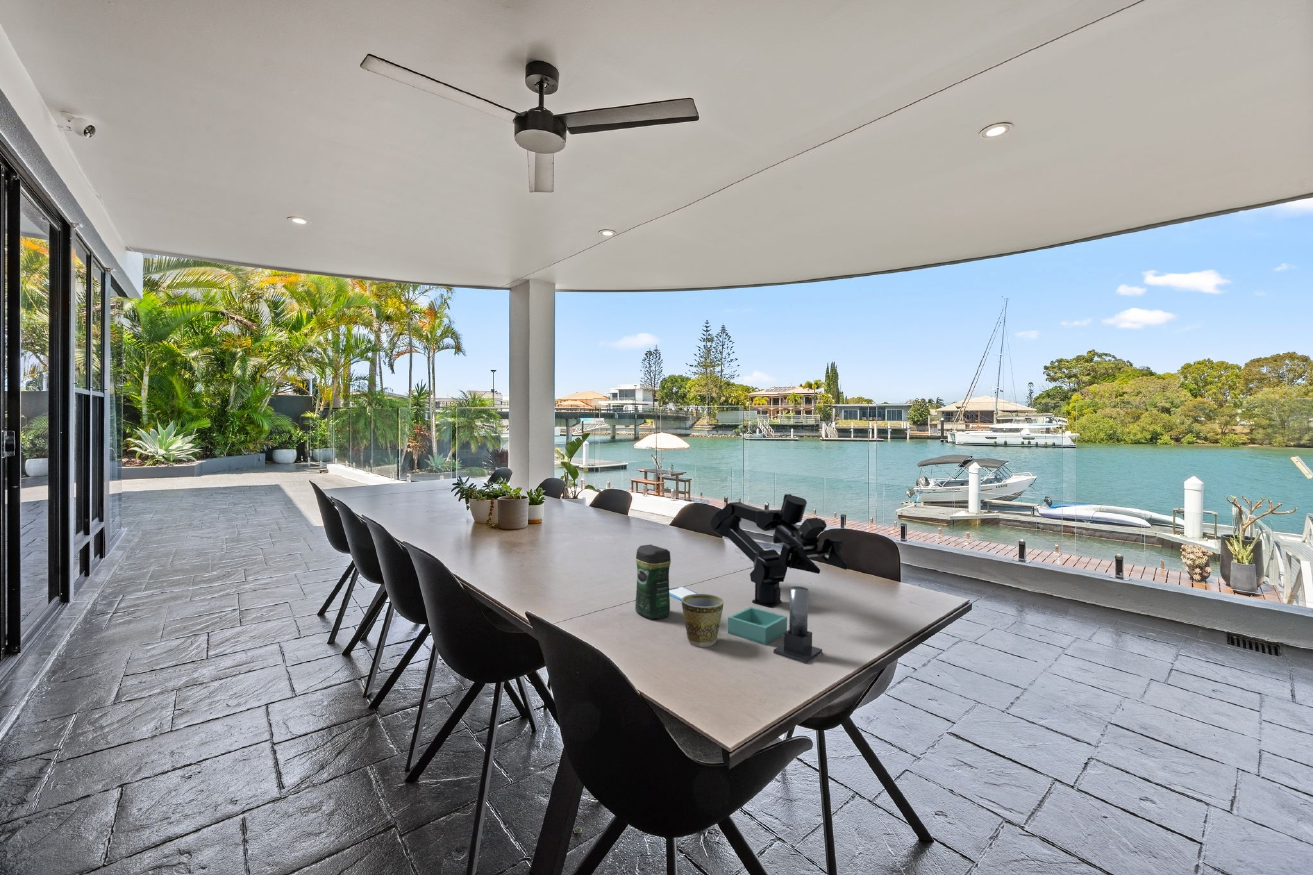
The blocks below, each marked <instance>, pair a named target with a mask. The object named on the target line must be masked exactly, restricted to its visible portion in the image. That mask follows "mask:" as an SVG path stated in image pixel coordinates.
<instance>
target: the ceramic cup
mask: <svg viewBox="0 0 1313 875" xmlns="http://www.w3.org/2000/svg"><path fill="white" fill-rule="evenodd" d="M681 608H682V614H683V618H684V623H685V624H684V625H685V630H686V636H687V637H686V638H687V640H688V642H689V644H690V645H691V646H694V647H698V648H709V647H712V646H713V645H715V644H716V643H717V639H718V635H719V629H720V625H721V624H720V623H721V620H722V615H723V610H724V600H723V598H721V597H719V596H717V595H714V594H710V593H709V594H708V593H698V594H691V595H687V596H685V597H683V598H682V601H681Z"/></svg>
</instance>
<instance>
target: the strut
mask: <svg viewBox="0 0 1313 875" xmlns="http://www.w3.org/2000/svg"><path fill="white" fill-rule="evenodd" d="M808 618H809V588H807V587H804V586H801V585H800V586H798V585H797V586H796V585H795V586H790V589H789V622H788V623H789V625H788V626H789V629H787V631H786V632H784V634H783V644H784V650H787V651H790V652H793V653H796V654H799V655H804V654H806V653H807V652H809V651H810V650H812V646H813V632H812V631H809V630H808V623H809V622H808V620H809V619H808ZM801 636H803V637H801Z"/></svg>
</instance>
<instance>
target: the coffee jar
mask: <svg viewBox="0 0 1313 875" xmlns="http://www.w3.org/2000/svg"><path fill="white" fill-rule="evenodd" d="M635 554H636V555H635V561H636V573H637V574H636V590H635V607H634V608H635V612H636V613H637V614H639V615H641V616H642V617H645V618H647V619H662V618H663V619H664V618H665V617H667V616H669V615H670V613H671V602H670V601H671V600H670V599H671V598H670V597H671V596H669V589H670V566H671V562H672V561H671V560H672V559H671V552H670V550H668V549H667V548H663V547H659V546H657V545H653V544H644V545H640V546H638V548H637V549H636V553H635Z"/></svg>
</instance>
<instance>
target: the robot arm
mask: <svg viewBox="0 0 1313 875" xmlns="http://www.w3.org/2000/svg"><path fill="white" fill-rule="evenodd" d="M782 501H783V502H782V504H781V509H763V508H758V507H755V506H752V505H748V504H745V503H743V502H740V501H734V502H733V501H731V502H728V503H727V504H726V505H725V506H724V507H723V508H721V509H720V510H718V511H717V512H716V513H715V514H714V515H713V516H712V518H711V520H710V524H709V525H710V528H711V529H712V531H713V532H714V533H716V534H717V535H718V536H721V537H724V538H727V539H729V540H730V541H731V542H732V543H733V544H734V545H735V546H736V547H737V548H738V549H740V551H741V553H743V554H744V555H745V556H746V557H747V558H748V559H750V561H751V562H753V570H752V571H751V572H750V573H749V578H750V581H751V582H752V583H754V598H753V599H752V600H751V603H754V604H756V605H762V606H764V607H769V608H773V607H775V606H777V605H778V604H779V605H780V604H781V603H783V602H782V600H781V595H782V594H781V592H782V589H781V588H780V583H784V581H785V578H786V575H787V572H788V568H789V569H793V570H799V571H800V570H801V571H803V572H804V571H805V572H809V573H813V574H817V575H819V574H820V573H821V569H820V568H819V567H818V565H817V564H816V563H814V562H813V561H812V559H813V558H815V557H821V559H822V560H823V561H825V562H826V563H827V564H829V565H831V566H834V567H837V568H839V569H843V570H844V571H846V570H848V568H849V566H848V564H847V562H846V561H845V559H844V557H843V555H842V553H841V550H842V547H843V543H844V542H843V540H841V538H839V537H838V536H837V537H829V538H825V539H824V540H823V544H822V546H819V545H818V543H819V542H820V537H819V535H820V534H821V533H823V532H824V531H825V530H826V528H827V523H826V521H825V520H823V519H822V518H821V517H810V518H806V519H804V521H803V517H804V515H805V510H806V507H807V504H808V502H807V500H806V499H805V498H803V497H799V496H796V495H792V494H791V493H786V494H784V496H783V500H782ZM742 519H744V520H746V521H750V522H752V523H754V524H756V527H757V528H759V529H760V530H762V531H763V532H770V531H774V533H773V539H772V541H773V544H774V545H775V544H782V546H781V551H780V553H778V551H777V550H776V549H766V550H765V549H764V548H763V547H761V545H760V544H759V543H757V541H755V540H754V539H753V538H752V537H751V536H750V535H749V534H748V533H746V532H745V531H744V530H743V529H742V528H741V525H740V524H741V522H742ZM798 523H801V525H800V526H799V527H798V526H797V524H798Z"/></svg>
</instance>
